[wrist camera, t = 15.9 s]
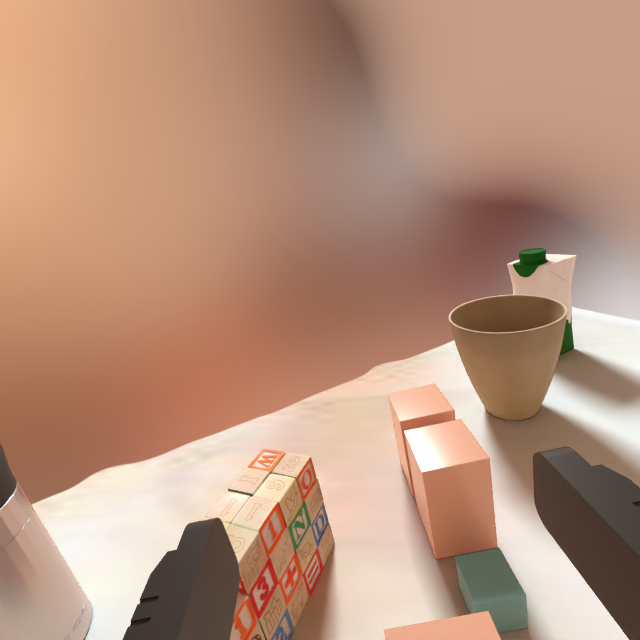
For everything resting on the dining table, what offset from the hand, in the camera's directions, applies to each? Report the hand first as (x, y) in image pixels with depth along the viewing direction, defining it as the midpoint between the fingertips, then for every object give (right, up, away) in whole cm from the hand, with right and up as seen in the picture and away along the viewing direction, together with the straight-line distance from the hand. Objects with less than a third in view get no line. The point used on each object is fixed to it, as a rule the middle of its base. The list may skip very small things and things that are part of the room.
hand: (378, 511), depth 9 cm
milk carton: (+42, -1, +60) cm, 73 cm away
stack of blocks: (-7, -25, +24) cm, 35 cm away
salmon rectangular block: (+13, -18, +29) cm, 37 cm away
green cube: (+13, -20, +22) cm, 32 cm away
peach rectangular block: (+13, -15, +37) cm, 42 cm away
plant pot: (+28, -9, +46) cm, 55 cm away
